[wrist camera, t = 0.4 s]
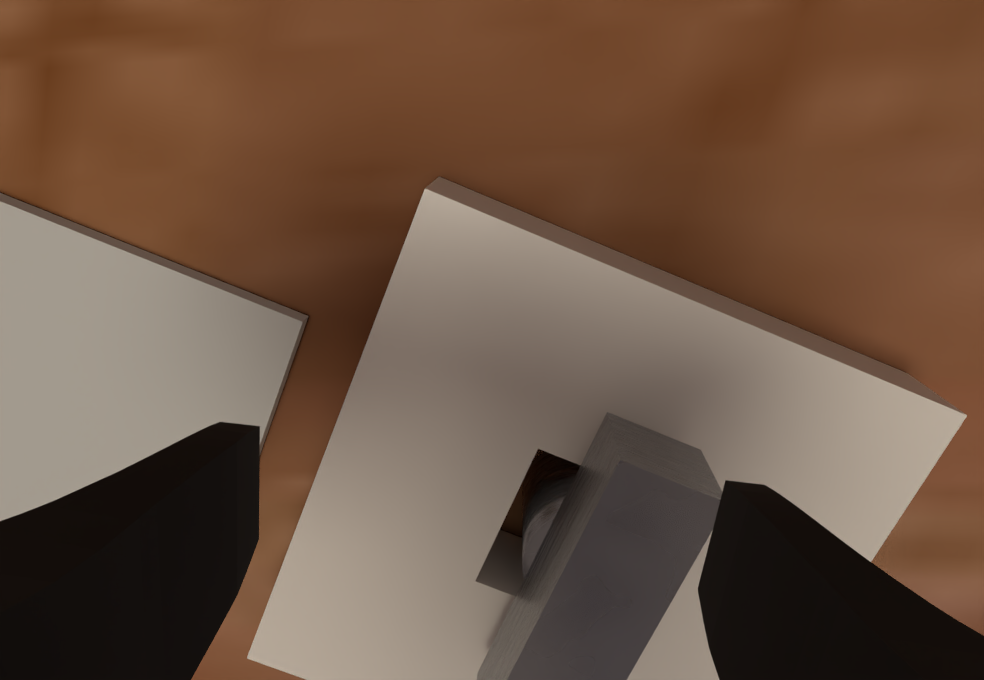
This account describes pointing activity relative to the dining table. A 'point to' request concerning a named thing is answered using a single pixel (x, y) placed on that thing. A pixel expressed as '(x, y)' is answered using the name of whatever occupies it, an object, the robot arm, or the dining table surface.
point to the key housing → (559, 437)
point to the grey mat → (119, 355)
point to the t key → (603, 554)
